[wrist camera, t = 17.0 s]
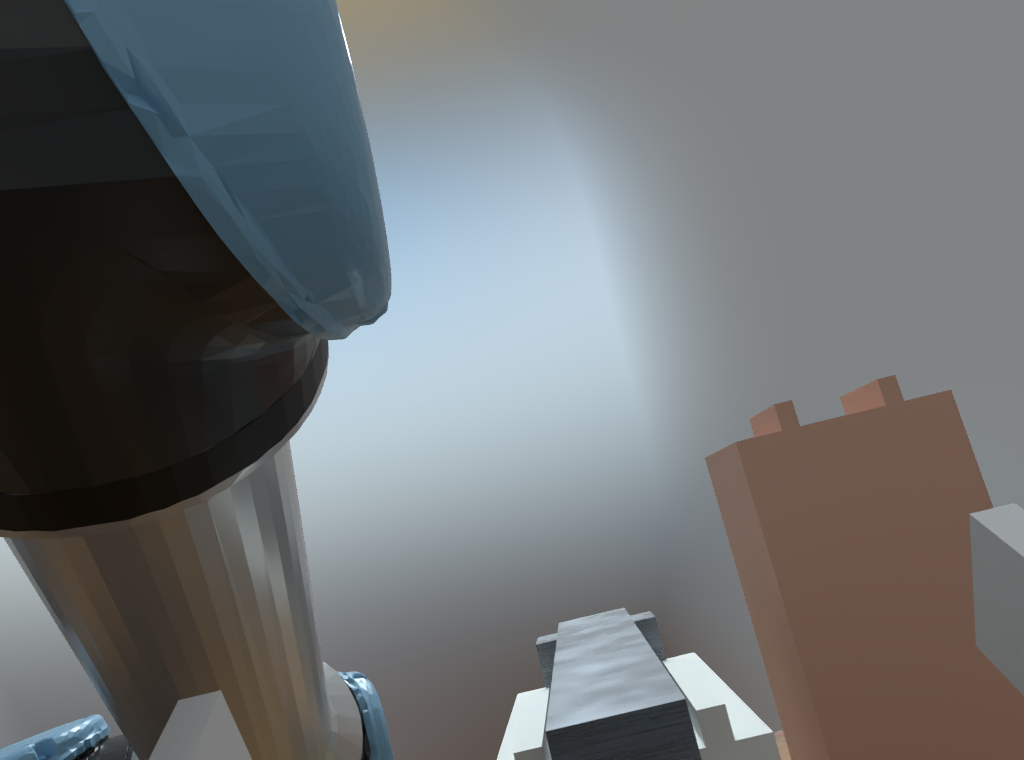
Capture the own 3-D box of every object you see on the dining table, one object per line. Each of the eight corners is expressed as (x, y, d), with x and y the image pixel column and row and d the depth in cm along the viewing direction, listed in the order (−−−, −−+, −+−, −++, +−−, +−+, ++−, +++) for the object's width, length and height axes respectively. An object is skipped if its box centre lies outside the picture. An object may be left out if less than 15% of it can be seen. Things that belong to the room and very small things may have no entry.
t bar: (529, 898, 18) (495, 743, 19) (551, 697, 40) (535, 628, 41) (779, 841, 18) (736, 686, 19) (665, 670, 40) (647, 601, 41)
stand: (917, 1056, 37) (728, 415, 43) (844, 944, 47) (698, 436, 53) (1169, 1000, 36) (941, 363, 43) (1042, 900, 46) (872, 394, 52)
